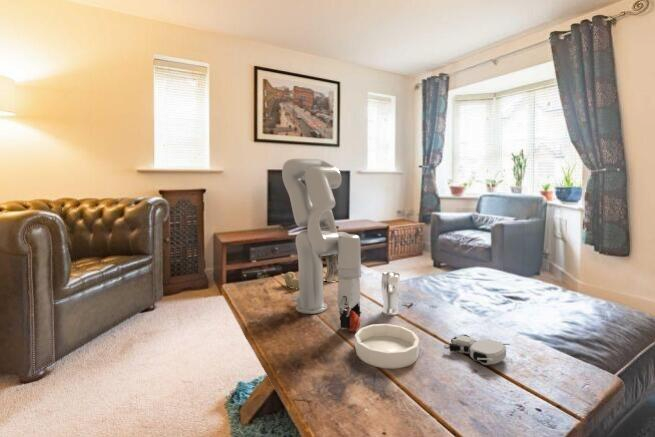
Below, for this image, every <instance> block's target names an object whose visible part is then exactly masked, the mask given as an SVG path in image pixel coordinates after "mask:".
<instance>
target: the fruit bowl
mask: <svg viewBox="0 0 655 437" xmlns="http://www.w3.org/2000/svg"><path fill="white" fill-rule="evenodd" d="M354 348H355V354H356V356H358V358H359V360H360V361H362V362H363V363H366V364H368V365H370V366H372V367H376V368H380V369H390V370H392V369H393V370H396V369H397V370H398V369H402V368H407V367H411V365H412V366H413V365H414V364H415V363H416V362H417V361H418V359H419V353H420V338H419V337H418V335H417V334H416V333H415V332H414V331H413V330H411V329H409V328H407V327H404V326H401V325H395V324H391V323H390V324H389V323H375V324H370V325H367V326H364V327H361V328H360V327H359V328H358V331H357V332H356V333H355V334H354Z"/></svg>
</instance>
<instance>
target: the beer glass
mask: <svg viewBox="0 0 655 437" xmlns="http://www.w3.org/2000/svg"><path fill="white" fill-rule="evenodd" d="M400 276H401V275H400V273H399V272H396V271H395V272H394V271H386V272H385V271H384V272H382V273H381V292H382V293H381V294H382V300H383V307H382V313H383V314H384V315H387V316H397V315H399V312H400V311H399V307H398V305H399V304H398V302H399V297H400V291H401V278H400Z"/></svg>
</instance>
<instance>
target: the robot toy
mask: <svg viewBox="0 0 655 437" xmlns="http://www.w3.org/2000/svg"><path fill="white" fill-rule="evenodd" d="M510 345H511V343H502V342H501V341H497V340H493V339H490V338H483V339H479V340H475V339H474V338H472V337H471V336H469V335H467V334H459V335H457V336H454V337H452V338H451V339H450V343H449V344H446V343H445V344H444V345H443V348H444V349H445V350H449V351H450V352H458V353H461V354H467V355H468V354H469V355H470V357H471V358H472V359H473V360H474V361H476V362H479V363H480V364H482V365H484V366H489V365H496V364H499V363H500V362H502V361H503V360H505V358H506V356H507V346H510Z"/></svg>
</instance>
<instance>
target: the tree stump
mask: <svg viewBox="0 0 655 437" xmlns="http://www.w3.org/2000/svg"><path fill="white" fill-rule="evenodd" d="M325 264H326V273H325V275H324V276H323V279H325V280H326V281H327V282H326V283H332V281H338V280H339V277H338V257H337V254H332V255H326V257H325Z"/></svg>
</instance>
